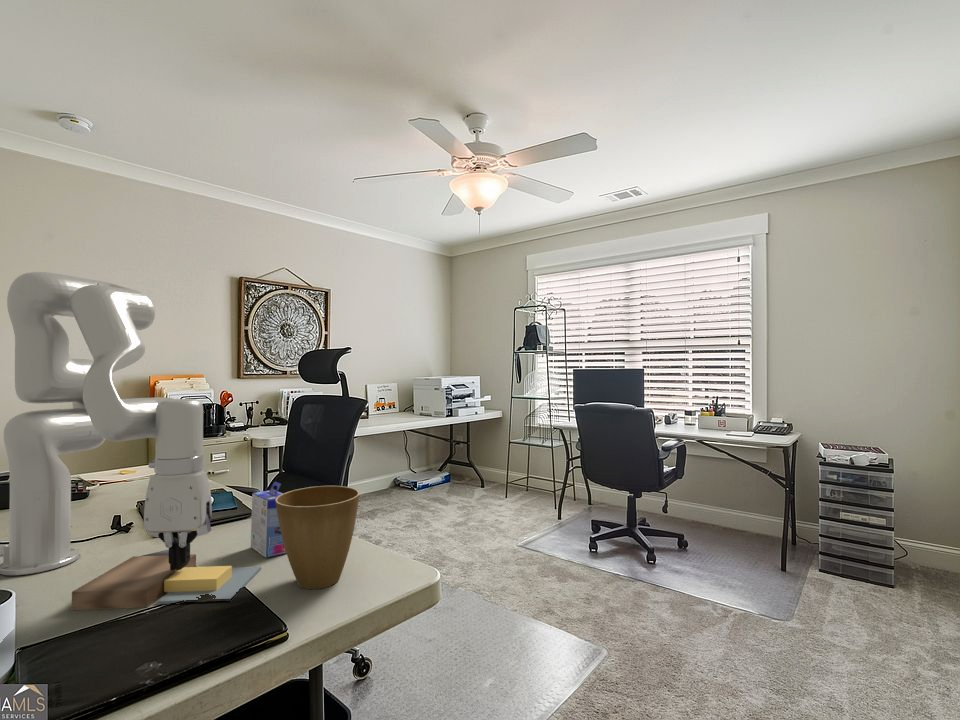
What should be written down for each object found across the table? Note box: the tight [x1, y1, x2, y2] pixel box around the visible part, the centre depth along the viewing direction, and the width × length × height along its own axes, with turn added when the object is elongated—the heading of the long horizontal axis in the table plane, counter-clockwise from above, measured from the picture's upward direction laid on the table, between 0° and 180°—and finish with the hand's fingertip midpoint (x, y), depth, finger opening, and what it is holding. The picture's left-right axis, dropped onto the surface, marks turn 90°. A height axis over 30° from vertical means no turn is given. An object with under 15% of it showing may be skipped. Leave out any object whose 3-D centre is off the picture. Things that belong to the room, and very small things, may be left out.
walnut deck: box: [71, 553, 197, 611], centre depth 91 cm, size 12×16×3 cm
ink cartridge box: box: [250, 481, 287, 558], centre depth 110 cm, size 10×6×14 cm, turn 43°
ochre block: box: [164, 565, 233, 593], centre depth 91 cm, size 9×6×2 cm, turn 93°
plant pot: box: [275, 485, 360, 590], centre depth 93 cm, size 15×15×16 cm
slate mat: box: [156, 566, 262, 605], centre depth 91 cm, size 12×14×1 cm
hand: (179, 567), depth 91 cm, fingers closed
